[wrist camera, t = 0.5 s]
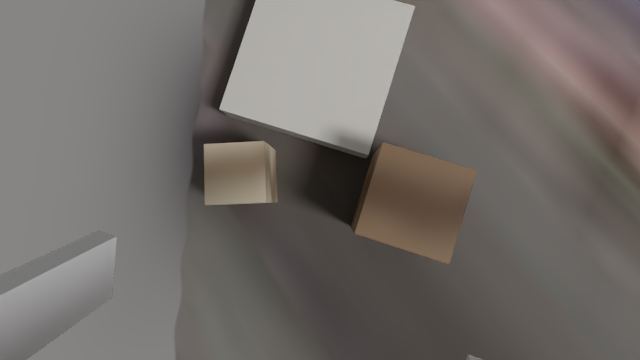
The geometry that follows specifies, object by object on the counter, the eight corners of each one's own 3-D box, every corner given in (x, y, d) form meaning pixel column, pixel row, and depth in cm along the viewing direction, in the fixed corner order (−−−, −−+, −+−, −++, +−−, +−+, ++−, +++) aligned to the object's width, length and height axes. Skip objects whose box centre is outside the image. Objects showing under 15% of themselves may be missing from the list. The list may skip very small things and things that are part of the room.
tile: (365, 158, 30) (368, 155, 28) (228, 116, 31) (219, 109, 29) (408, 21, 31) (415, 6, 28) (272, -16, 32) (267, -34, 29)
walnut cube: (422, 249, 30) (449, 264, 23) (350, 226, 30) (354, 233, 23) (444, 177, 30) (476, 170, 23) (372, 155, 30) (383, 141, 23)
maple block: (277, 202, 30) (265, 202, 26) (226, 204, 31) (204, 205, 26) (275, 150, 31) (264, 140, 26) (225, 153, 31) (203, 144, 26)
